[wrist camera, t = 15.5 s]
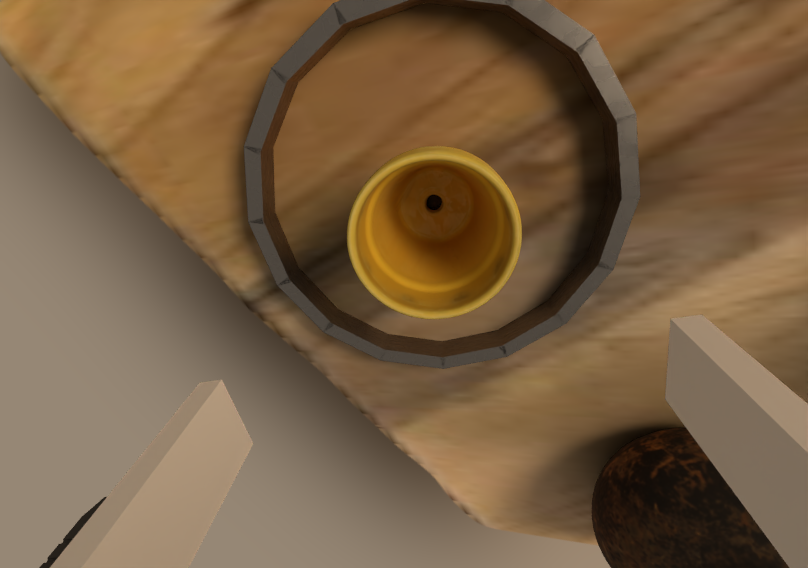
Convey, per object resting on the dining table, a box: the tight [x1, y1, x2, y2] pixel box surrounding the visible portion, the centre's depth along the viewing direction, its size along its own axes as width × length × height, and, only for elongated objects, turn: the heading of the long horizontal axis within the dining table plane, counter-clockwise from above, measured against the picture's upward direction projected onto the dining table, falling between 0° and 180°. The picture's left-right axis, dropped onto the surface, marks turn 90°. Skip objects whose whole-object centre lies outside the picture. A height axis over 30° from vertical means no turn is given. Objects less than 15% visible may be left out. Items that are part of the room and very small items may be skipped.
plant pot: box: [347, 146, 522, 319], centre depth 28 cm, size 10×10×10 cm
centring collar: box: [244, 0, 640, 369], centre depth 31 cm, size 28×28×2 cm
